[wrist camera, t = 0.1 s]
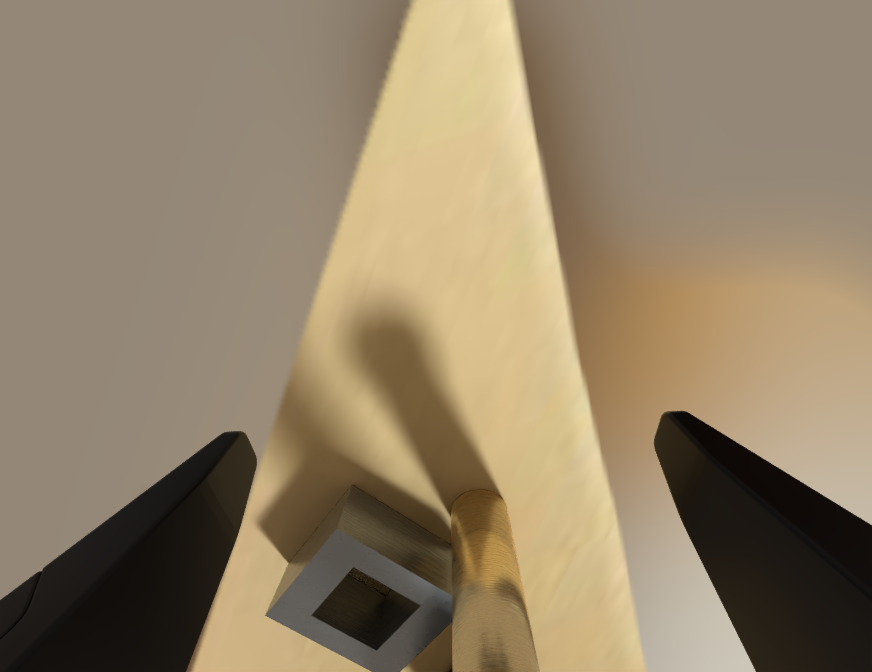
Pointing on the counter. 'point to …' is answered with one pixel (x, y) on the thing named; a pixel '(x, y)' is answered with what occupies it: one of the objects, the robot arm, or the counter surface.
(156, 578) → the robot arm
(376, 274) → the counter surface
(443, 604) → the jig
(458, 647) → the flanged metal cylinder
